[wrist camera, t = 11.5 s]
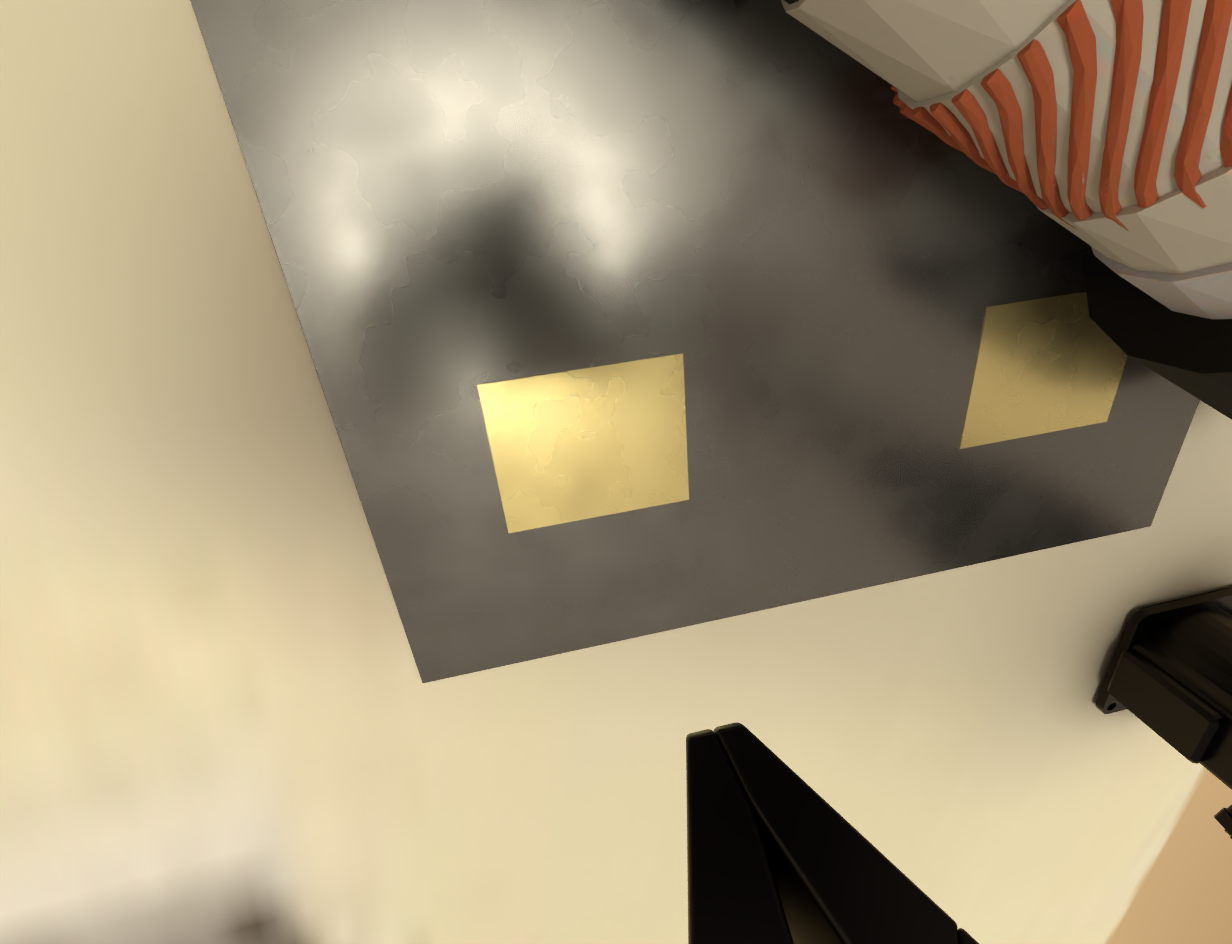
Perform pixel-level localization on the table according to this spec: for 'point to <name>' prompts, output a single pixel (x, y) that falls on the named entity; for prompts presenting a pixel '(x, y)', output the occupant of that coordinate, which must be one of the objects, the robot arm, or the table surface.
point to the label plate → (666, 316)
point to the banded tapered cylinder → (1087, 143)
